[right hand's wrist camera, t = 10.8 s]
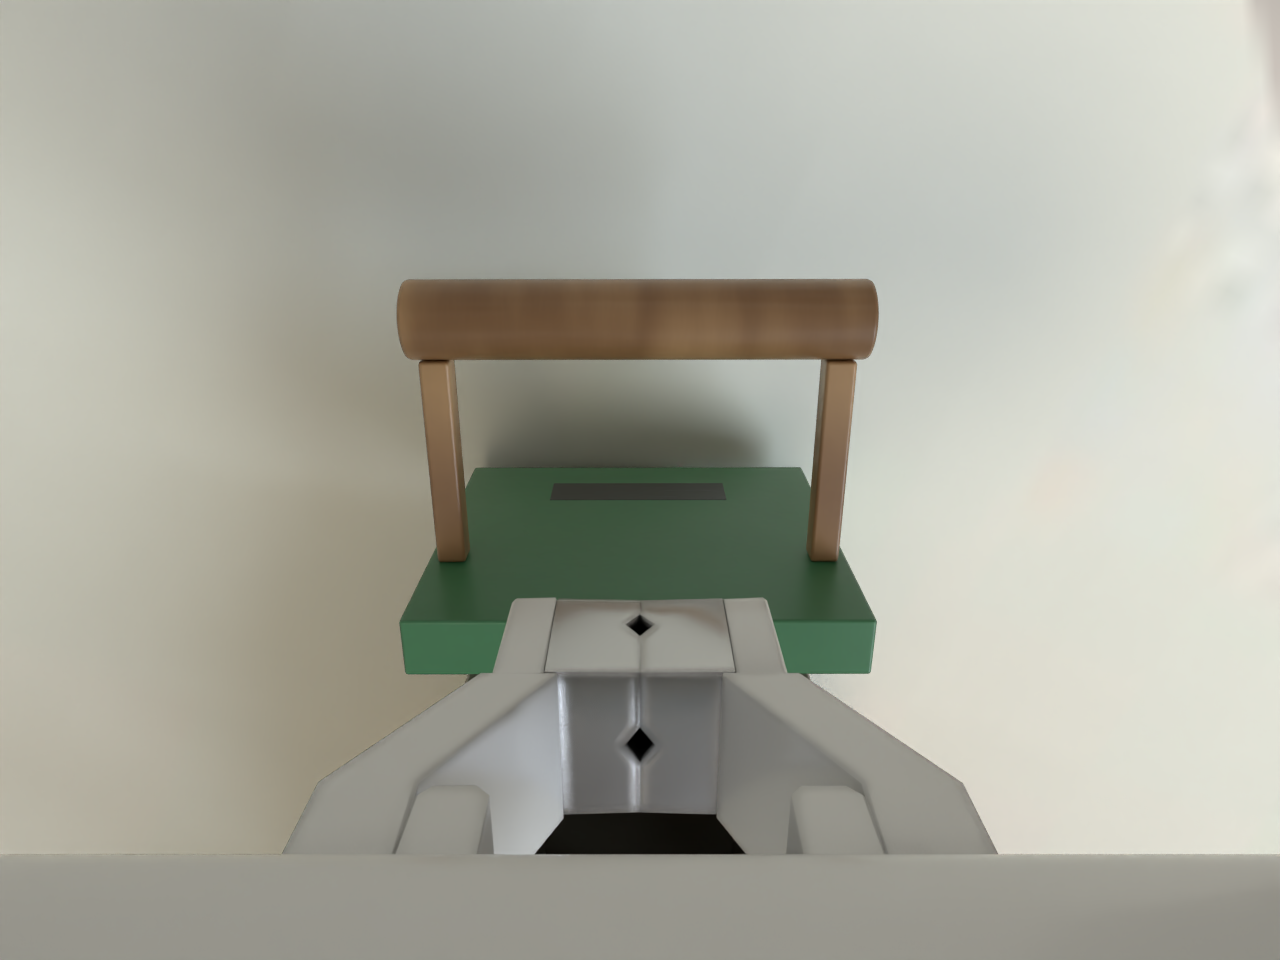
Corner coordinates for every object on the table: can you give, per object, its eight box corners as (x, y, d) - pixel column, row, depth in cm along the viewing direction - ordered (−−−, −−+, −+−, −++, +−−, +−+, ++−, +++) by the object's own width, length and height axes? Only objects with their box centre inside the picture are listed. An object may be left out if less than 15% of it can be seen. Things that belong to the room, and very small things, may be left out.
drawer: (457, 246, 21) (358, 304, 14) (817, 246, 21) (916, 304, 14) (509, 901, 29) (465, 1161, 22) (768, 900, 29) (813, 1160, 22)
